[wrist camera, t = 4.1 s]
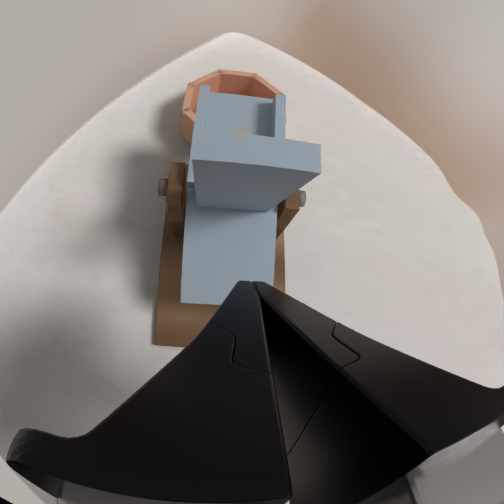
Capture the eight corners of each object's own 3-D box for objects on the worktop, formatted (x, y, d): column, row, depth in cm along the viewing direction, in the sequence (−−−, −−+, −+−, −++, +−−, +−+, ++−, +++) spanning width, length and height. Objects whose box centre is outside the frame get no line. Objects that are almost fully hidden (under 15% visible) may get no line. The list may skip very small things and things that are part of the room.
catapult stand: (283, 348, 20) (317, 352, 14) (156, 344, 19) (137, 347, 13) (280, 175, 24) (304, 128, 18) (173, 166, 23) (168, 114, 17)
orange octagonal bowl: (276, 167, 24) (287, 144, 21) (178, 159, 23) (176, 133, 20) (273, 101, 27) (282, 77, 24) (191, 92, 25) (191, 67, 22)
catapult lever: (261, 299, 20) (329, 344, 9) (184, 295, 19) (160, 342, 8) (270, 121, 20) (325, 20, 9) (200, 113, 19) (205, 0, 8)
